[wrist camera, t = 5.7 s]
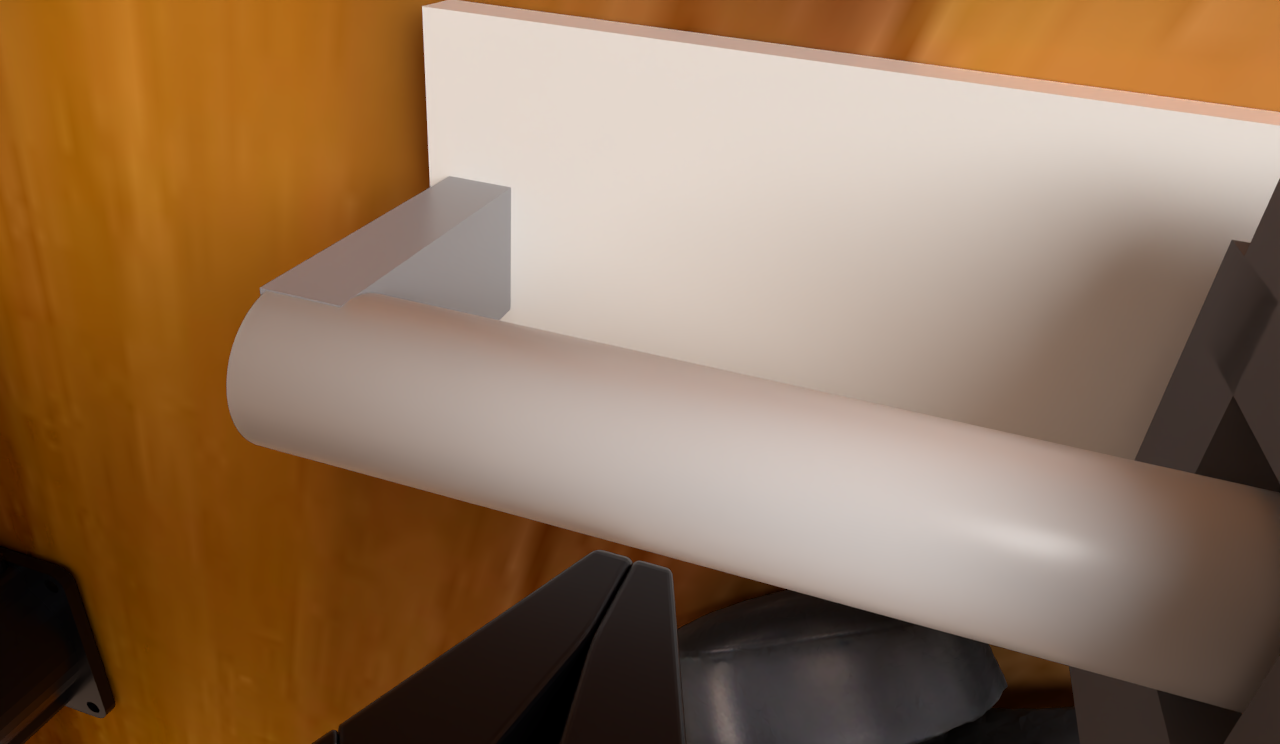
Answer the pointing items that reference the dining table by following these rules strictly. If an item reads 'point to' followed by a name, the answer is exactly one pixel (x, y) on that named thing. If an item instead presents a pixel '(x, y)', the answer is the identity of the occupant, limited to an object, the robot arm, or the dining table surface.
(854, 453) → the pipe stand
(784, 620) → the can opener
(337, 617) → the dining table surface
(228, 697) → the dining table surface
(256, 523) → the dining table surface
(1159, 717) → the stepped block
